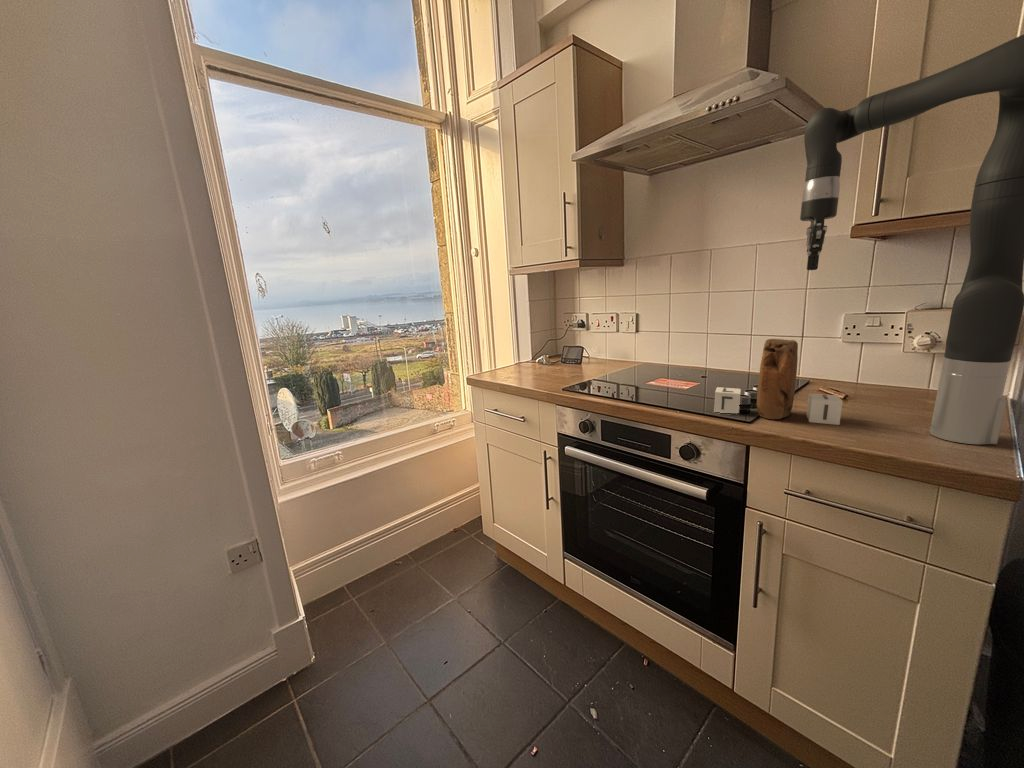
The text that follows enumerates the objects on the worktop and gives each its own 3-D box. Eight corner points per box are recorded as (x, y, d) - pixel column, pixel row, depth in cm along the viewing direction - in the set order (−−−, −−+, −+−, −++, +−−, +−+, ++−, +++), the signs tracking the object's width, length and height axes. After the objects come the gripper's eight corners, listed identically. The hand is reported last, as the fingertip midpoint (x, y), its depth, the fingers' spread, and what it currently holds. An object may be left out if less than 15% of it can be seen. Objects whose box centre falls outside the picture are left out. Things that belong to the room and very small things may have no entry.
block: (762, 408, 115) (769, 337, 111) (794, 412, 110) (802, 338, 106) (751, 417, 108) (758, 341, 103) (785, 423, 103) (794, 343, 98)
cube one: (835, 418, 105) (838, 394, 104) (839, 425, 100) (842, 401, 98) (806, 415, 108) (809, 392, 107) (809, 422, 103) (812, 398, 101)
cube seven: (739, 409, 116) (740, 388, 114) (738, 415, 110) (740, 393, 109) (715, 407, 118) (716, 386, 117) (713, 413, 113) (715, 391, 112)
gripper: (843, 192, 97) (834, 268, 101) (834, 201, 108) (825, 269, 112) (804, 197, 100) (796, 270, 104) (799, 205, 112) (792, 271, 115)
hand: (811, 270), depth 108 cm, fingers closed
